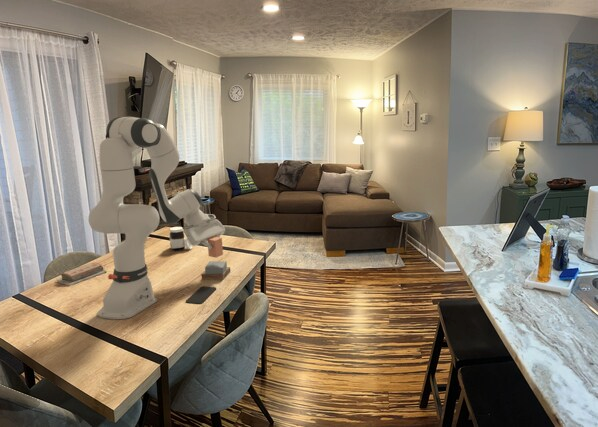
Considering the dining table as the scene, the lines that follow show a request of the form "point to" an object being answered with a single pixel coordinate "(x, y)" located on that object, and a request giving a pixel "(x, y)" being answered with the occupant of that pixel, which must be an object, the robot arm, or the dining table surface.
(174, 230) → the spread jar
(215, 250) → the terracotta block
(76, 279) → the packaged product
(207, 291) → the phone
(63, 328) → the dining table surface
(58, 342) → the dining table surface
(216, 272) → the slate slab
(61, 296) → the dining table surface
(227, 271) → the walnut slab
